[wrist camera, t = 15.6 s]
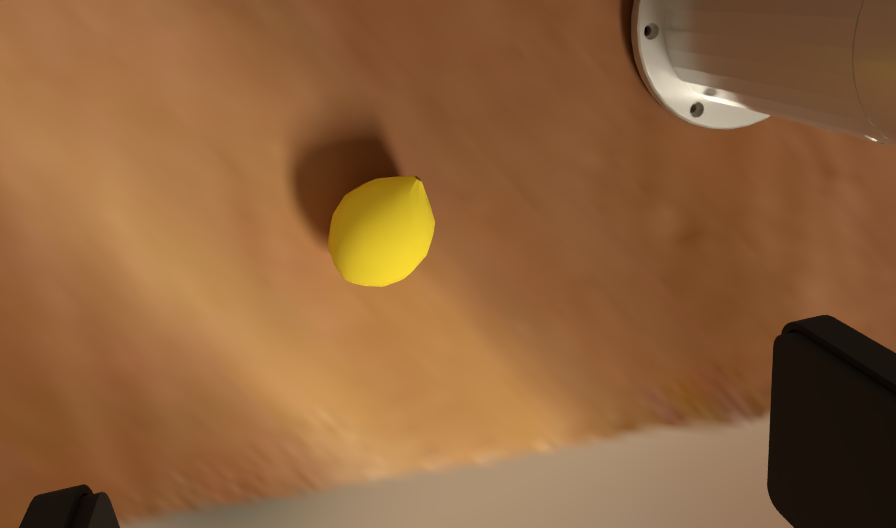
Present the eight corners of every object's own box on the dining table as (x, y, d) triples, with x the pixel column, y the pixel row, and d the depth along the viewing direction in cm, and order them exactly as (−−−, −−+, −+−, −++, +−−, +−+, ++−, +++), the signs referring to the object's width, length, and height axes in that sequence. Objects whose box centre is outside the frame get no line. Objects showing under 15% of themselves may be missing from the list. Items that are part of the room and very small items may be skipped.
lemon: (383, 279, 44) (390, 327, 40) (305, 235, 42) (302, 279, 38) (453, 187, 42) (468, 225, 38) (373, 136, 40) (379, 169, 36)
